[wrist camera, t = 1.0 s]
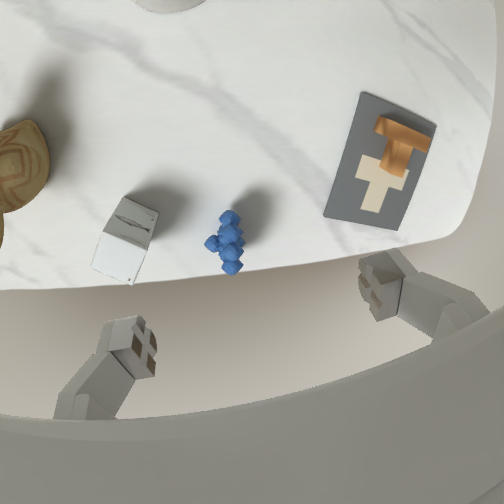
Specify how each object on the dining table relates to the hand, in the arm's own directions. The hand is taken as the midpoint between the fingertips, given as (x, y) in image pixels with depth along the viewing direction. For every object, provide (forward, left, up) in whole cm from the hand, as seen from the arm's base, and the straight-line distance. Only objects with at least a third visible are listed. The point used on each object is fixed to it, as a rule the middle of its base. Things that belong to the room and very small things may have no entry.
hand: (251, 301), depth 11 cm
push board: (+1, +31, -40) cm, 51 cm away
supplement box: (+19, -12, -40) cm, 46 cm away
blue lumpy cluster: (+18, +4, -40) cm, 44 cm away
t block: (-4, +31, -39) cm, 50 cm away
